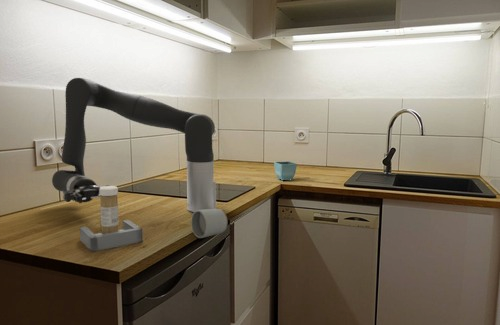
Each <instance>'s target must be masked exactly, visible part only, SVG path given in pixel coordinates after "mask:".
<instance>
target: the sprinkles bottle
mask: <svg viewBox="0 0 500 325" xmlns="http://www.w3.org/2000/svg"><path fill="white" fill-rule="evenodd" d="M99 193H100V195H99V196H100V198H99V199H100V225H101V233H102V234H106V233H112V232H118V230H119V222H120V221H119V204H118V194H119V189H118V187H117V186H116V185H110V186H106V185H104V186H101V188H100V189H99Z"/></svg>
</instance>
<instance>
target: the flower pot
mask: <svg viewBox="0 0 500 325" xmlns="http://www.w3.org/2000/svg"><path fill="white" fill-rule="evenodd" d="M273 166H274V174H275V176H276V178H277V180H279V179H281V180H290V179H292V180H293V179H294V177H295V174H296V172H297V163H296V162H293V161H274V162H273ZM281 180H280V181H281Z"/></svg>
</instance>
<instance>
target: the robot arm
mask: <svg viewBox="0 0 500 325" xmlns="http://www.w3.org/2000/svg"><path fill="white" fill-rule="evenodd" d="M64 98H65V131H64V139H63V146H62V154H61V161H62V163H64V164H65V165H68V166H69V165H70V166H72V167H74V169H75V170H70V169H69V170H67V169H59V170H57V171H55V172H54V174H53V175H52V178H51V181H52V182H51V183H52V186H53V188H54V189H55V190H56V191H59V192H62V198H63V200H64V201H65V202H66V203H70V202H71V201H73V202H74V203H75V202H76V203H79V204H82V203H89V202H91V201H92V200H94V199H100V193H99V189H100V188H101V187H102V186H100V185H99V186H98V185H97V183H96V181H94V180H93V179H91V178H88V177H87V176H86V175H85V168H84V167H85V166H84V159H85V158H84V157H85V151H86V144H87V137H86V130H85V115H86V110H87V107H95V108H98V109H104V110H107V111H111V112H114V113H116V114H118V115H119V116H121V117H123V118H125V119H127V120H130V121H133V122H136V123H139V124H142V125H144V126H149V127H155V128H161V129H170V130H173V131H177V132H180V133H183V134H184V146H185V147H184V148H185V155H186V196H187V197H186V199H187V200H186V208H187V211H188V212H193V213H194V212H195V211H197V210H205V209H215V208H216V209H217V183H216V181H215V180H214V179H215V178H214V173H215V172H214V171H215V170H214V165H215V164H214V161H215V160H214V156H215V154H214V151H213V135H214V134H215V130H216V126H215V123H214V121H213V119H212V118H211V117H210V116H208V115H206V114H200V113H196V112H195V113H194V112H189V111H186V110H185V111H184V110H182V109H178V108H176V107H173V106H172V105H168V104H167V103H163V102H162V101H158V100H156V99H153V98H150V97H146V96H144V95H139V94H137V93H131V92H125V91H121V90H120V91H119V90H115V89H112V88H110V87H107V86H106V85H105V86H104V85H103V84H101V83H98V82H95V81H93V80H91V79H87V78H84V77H74V78H72V79H70V80H69V81H68V82H67V84H66V86H65V97H64ZM105 186H111V185H109V184H107V185H105Z"/></svg>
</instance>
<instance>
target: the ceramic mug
mask: <svg viewBox="0 0 500 325" xmlns="http://www.w3.org/2000/svg"><path fill="white" fill-rule="evenodd" d="M190 218H191V219H190V226H191V230H192V232H193V234H194V236H195V237H196V238H198V239H205V238H207V237H211V236H216V235H219V234H222V233H224V232H225V231H226V230H227V227H228V225H229V224H228V217H227V214H226V212H225V211H224V210H223V209H221V208H217V207H216V208H215V209H205V210H197V211H195V212H193V213H192V214H191V217H190Z"/></svg>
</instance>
